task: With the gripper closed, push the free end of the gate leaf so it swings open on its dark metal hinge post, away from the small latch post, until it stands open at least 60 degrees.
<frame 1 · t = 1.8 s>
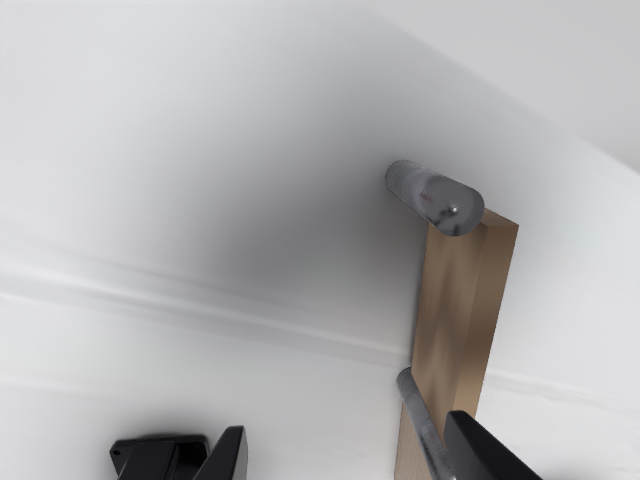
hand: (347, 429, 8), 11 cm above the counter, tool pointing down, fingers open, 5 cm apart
gate frame: (413, 379, 22), on the counter
gate leaf: (449, 319, 17), point 3 cm above the counter, hinge at 0.0°
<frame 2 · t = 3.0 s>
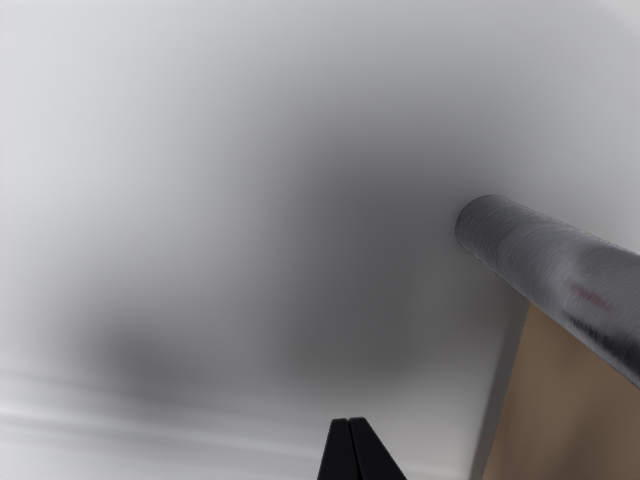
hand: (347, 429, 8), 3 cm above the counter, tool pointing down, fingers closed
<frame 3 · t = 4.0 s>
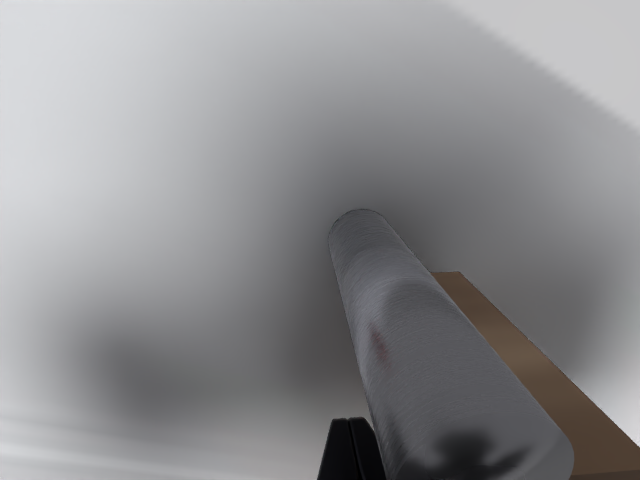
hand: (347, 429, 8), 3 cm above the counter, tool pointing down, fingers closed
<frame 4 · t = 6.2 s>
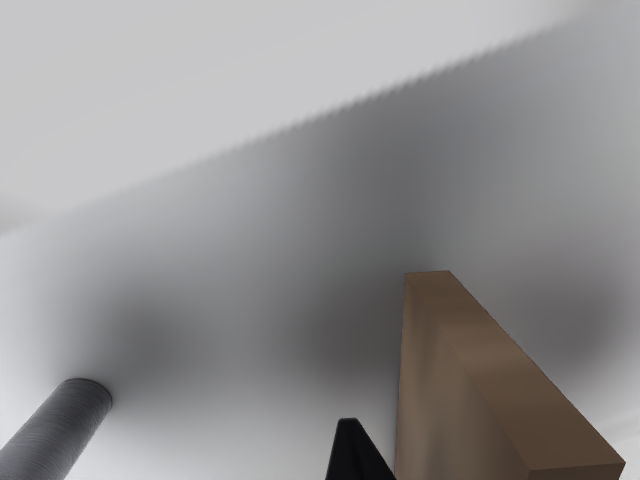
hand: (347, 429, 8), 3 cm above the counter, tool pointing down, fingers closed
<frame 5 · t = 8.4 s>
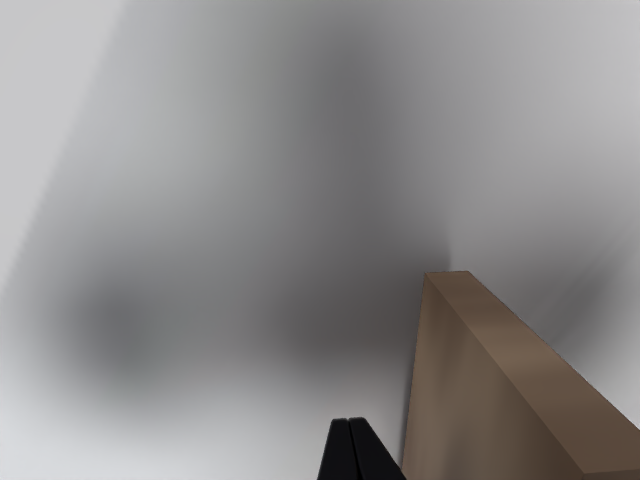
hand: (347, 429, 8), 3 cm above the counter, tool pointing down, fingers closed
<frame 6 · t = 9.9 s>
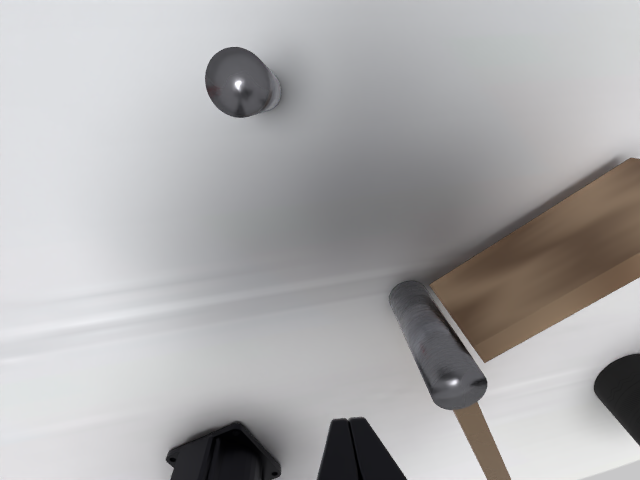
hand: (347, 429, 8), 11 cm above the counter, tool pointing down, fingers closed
drinking cup: (623, 376, 24), on the counter
gate frame: (408, 297, 20), on the counter
gate leaf: (562, 253, 15), point 3 cm above the counter, hinge at 80.0°
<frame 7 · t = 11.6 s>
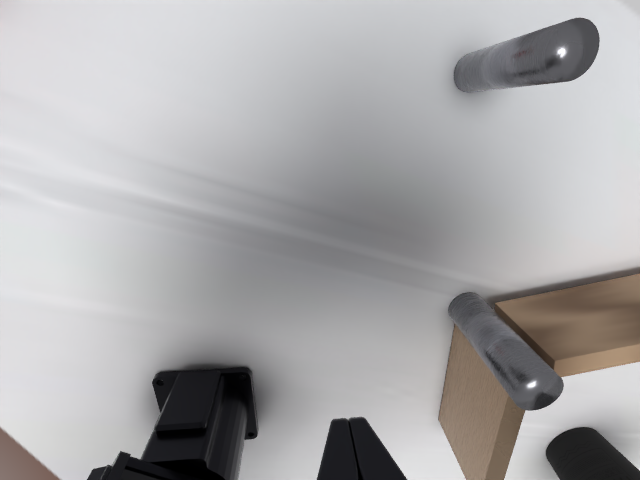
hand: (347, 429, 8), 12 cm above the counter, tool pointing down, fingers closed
drinking cup: (570, 444, 28), on the counter
gate frame: (466, 308, 22), on the counter
gate leaf: (622, 315, 19), point 3 cm above the counter, hinge at 80.0°
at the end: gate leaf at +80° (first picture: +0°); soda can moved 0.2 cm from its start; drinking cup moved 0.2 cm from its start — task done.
